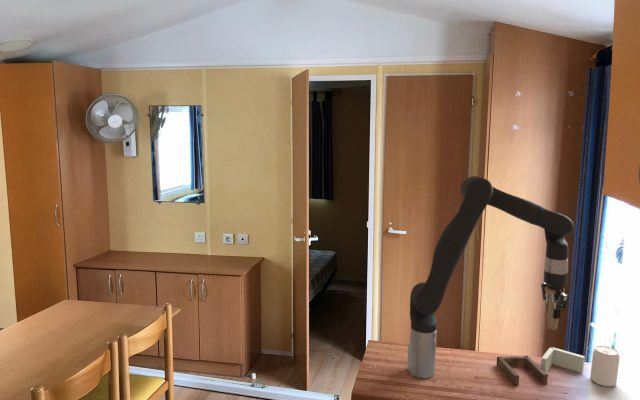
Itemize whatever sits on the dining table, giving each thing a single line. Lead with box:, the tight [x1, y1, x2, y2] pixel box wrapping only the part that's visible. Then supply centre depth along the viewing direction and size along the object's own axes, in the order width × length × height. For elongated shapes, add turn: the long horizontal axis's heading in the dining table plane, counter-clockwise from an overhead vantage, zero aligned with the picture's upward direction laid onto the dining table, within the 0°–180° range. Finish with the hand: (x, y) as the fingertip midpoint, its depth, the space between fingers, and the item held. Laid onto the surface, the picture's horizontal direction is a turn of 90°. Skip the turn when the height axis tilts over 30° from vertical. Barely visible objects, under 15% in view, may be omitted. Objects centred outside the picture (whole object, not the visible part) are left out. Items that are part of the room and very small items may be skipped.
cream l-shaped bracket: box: [540, 346, 586, 374], centre depth 182 cm, size 17×9×6 cm, turn 95°
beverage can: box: [589, 345, 621, 387], centre depth 172 cm, size 8×8×12 cm
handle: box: [545, 286, 565, 331], centre depth 174 cm, size 5×6×15 cm
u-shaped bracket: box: [496, 355, 549, 386], centre depth 177 cm, size 12×14×4 cm
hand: (553, 315), depth 174 cm, fingers closed on handle, 4 cm apart
